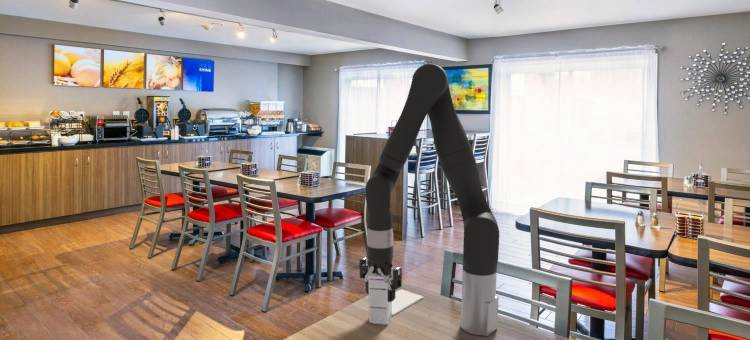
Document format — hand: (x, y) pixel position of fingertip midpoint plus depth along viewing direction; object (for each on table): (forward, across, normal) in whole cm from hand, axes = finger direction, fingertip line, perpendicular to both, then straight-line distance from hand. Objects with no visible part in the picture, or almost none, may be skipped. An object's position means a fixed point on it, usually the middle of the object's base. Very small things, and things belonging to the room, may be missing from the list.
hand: (380, 297), depth 136 cm
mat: (+7, +3, -12) cm, 14 cm away
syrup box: (+7, 0, 0) cm, 7 cm away
